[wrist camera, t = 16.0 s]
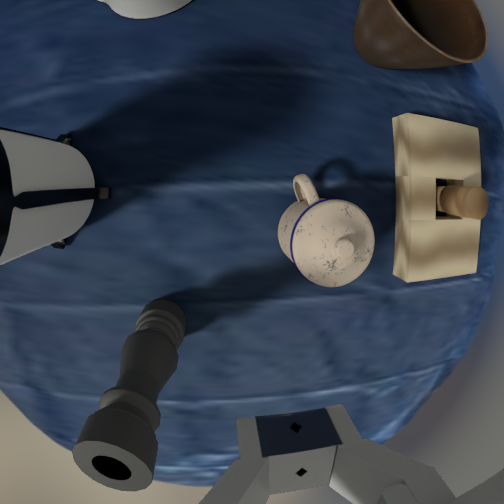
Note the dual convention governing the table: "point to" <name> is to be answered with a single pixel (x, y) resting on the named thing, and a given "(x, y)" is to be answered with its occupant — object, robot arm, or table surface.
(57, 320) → the table surface
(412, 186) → the block
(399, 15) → the plant pot
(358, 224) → the teacup with lid
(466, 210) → the peg
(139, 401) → the candle holder
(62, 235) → the coffee press
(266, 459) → the robot arm
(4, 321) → the table surface
